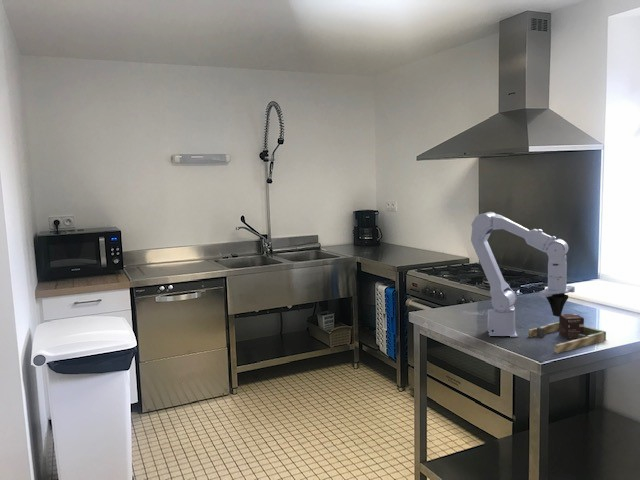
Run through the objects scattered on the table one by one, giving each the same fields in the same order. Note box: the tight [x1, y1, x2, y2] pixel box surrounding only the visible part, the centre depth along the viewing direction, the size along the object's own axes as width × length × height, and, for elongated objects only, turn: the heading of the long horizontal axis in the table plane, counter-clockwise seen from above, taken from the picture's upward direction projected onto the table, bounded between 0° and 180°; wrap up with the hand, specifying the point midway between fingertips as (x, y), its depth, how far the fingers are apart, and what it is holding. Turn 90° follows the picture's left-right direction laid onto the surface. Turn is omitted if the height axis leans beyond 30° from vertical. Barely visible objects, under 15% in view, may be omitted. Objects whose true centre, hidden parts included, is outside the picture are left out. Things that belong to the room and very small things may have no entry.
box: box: [558, 313, 585, 340], centre depth 181 cm, size 6×6×7 cm
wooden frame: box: [528, 321, 607, 354], centre depth 179 cm, size 23×17×3 cm
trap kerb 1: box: [536, 326, 546, 338], centre depth 184 cm, size 1×2×3 cm, turn 26°
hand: (556, 315), depth 177 cm, fingers closed
